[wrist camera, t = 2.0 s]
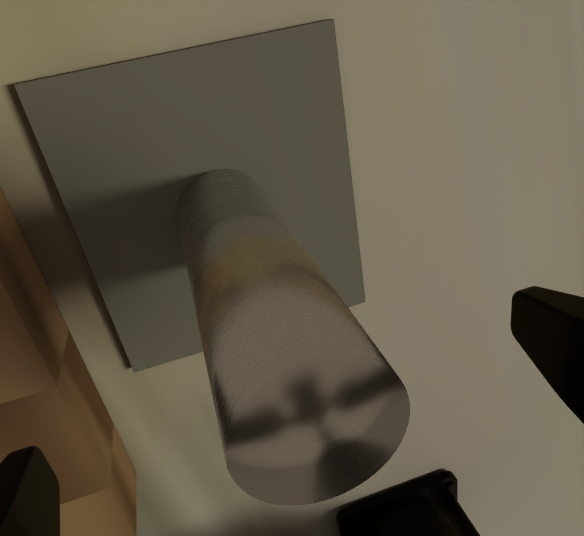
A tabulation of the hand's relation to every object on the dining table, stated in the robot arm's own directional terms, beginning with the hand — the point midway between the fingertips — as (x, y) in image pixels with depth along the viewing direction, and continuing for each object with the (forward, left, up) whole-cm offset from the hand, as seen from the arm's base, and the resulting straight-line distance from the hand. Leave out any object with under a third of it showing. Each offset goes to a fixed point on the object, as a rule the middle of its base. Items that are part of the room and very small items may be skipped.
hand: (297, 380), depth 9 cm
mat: (0, 0, -9) cm, 9 cm away
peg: (0, 0, -9) cm, 9 cm away
